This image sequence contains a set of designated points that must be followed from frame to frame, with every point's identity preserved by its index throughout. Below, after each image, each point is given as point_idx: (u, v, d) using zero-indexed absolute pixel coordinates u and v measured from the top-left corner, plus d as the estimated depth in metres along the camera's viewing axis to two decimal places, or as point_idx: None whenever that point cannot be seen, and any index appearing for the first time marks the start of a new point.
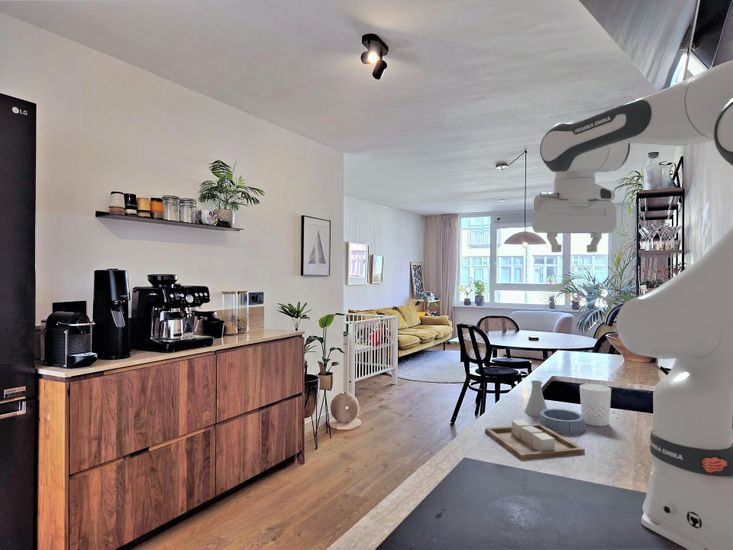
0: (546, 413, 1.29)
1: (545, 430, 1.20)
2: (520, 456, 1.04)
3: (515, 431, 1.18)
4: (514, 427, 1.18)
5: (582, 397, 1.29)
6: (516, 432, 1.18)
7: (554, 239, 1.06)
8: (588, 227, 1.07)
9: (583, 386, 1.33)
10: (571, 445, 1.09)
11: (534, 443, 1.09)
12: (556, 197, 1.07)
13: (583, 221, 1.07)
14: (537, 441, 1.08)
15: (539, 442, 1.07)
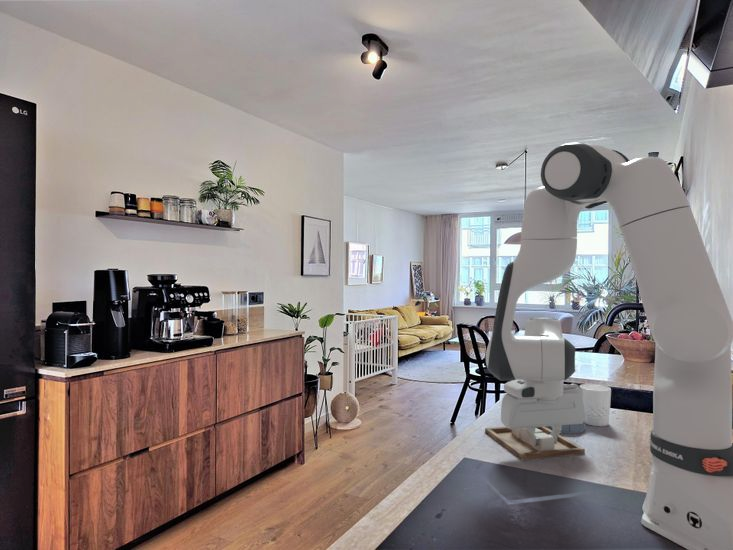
0: None
1: (545, 430, 1.20)
2: (520, 456, 1.04)
3: (515, 431, 1.18)
4: None
5: None
6: (516, 432, 1.18)
7: None
8: None
9: (583, 386, 1.33)
10: (571, 445, 1.09)
11: None
12: None
13: None
14: None
15: (539, 442, 1.07)
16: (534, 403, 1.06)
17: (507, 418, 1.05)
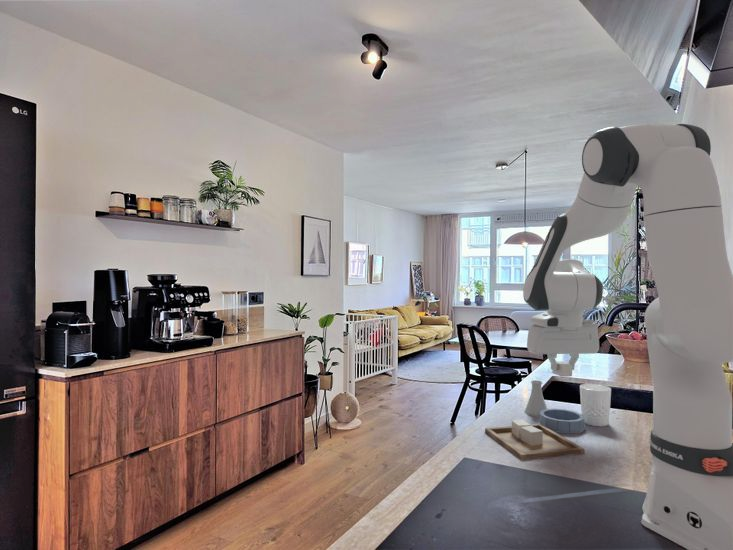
0: (546, 413, 1.29)
1: (545, 430, 1.20)
2: (520, 456, 1.04)
3: (515, 431, 1.18)
4: (514, 427, 1.18)
5: (582, 397, 1.29)
6: (516, 432, 1.18)
7: None
8: None
9: (583, 386, 1.33)
10: (571, 445, 1.09)
11: None
12: None
13: None
14: None
15: (559, 367, 1.24)
16: (557, 333, 1.22)
17: (533, 344, 1.21)
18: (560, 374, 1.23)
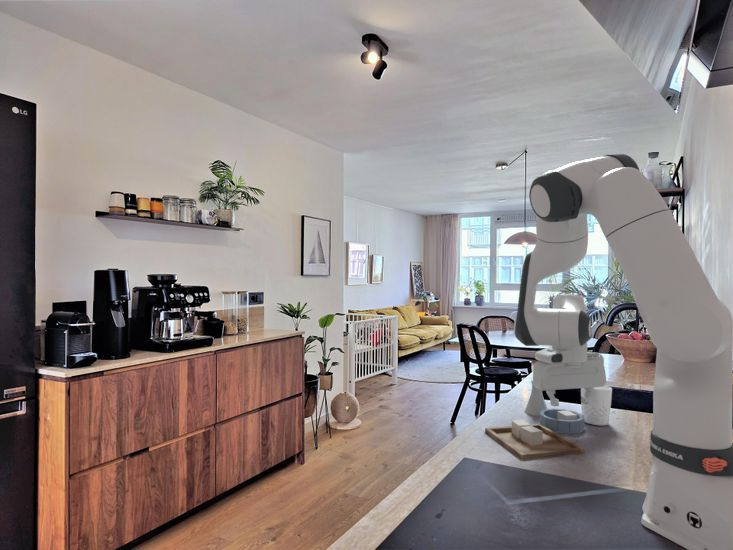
0: (546, 413, 1.29)
1: (545, 430, 1.20)
2: (520, 456, 1.04)
3: (515, 431, 1.18)
4: (514, 427, 1.18)
5: None
6: (516, 432, 1.18)
7: None
8: None
9: None
10: (571, 445, 1.09)
11: None
12: None
13: None
14: (562, 417, 1.25)
15: (563, 418, 1.24)
16: (562, 368, 1.23)
17: (539, 381, 1.22)
18: None
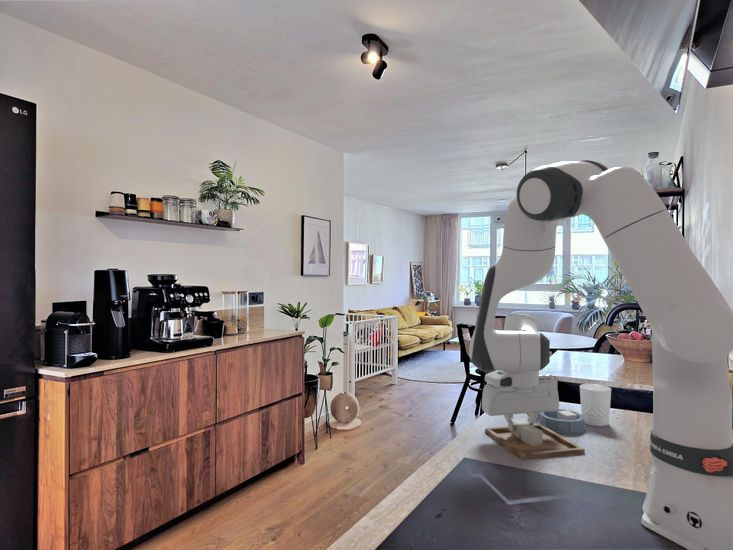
0: (546, 413, 1.29)
1: (545, 430, 1.20)
2: (520, 456, 1.04)
3: (515, 431, 1.18)
4: None
5: (582, 397, 1.29)
6: (516, 432, 1.18)
7: None
8: None
9: (583, 386, 1.33)
10: (571, 445, 1.09)
11: None
12: None
13: None
14: (562, 417, 1.25)
15: (563, 418, 1.24)
16: (512, 392, 1.16)
17: (487, 405, 1.15)
18: None
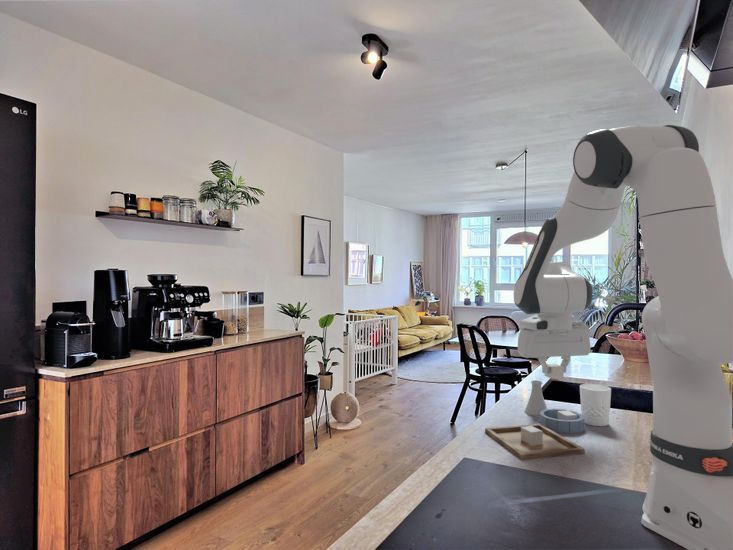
0: (546, 413, 1.29)
1: (545, 430, 1.20)
2: (520, 456, 1.04)
3: (548, 373, 1.24)
4: None
5: (582, 397, 1.29)
6: (549, 374, 1.24)
7: None
8: None
9: (583, 386, 1.33)
10: (571, 445, 1.09)
11: None
12: None
13: None
14: (562, 417, 1.25)
15: (563, 418, 1.24)
16: (547, 335, 1.22)
17: (524, 348, 1.21)
18: None
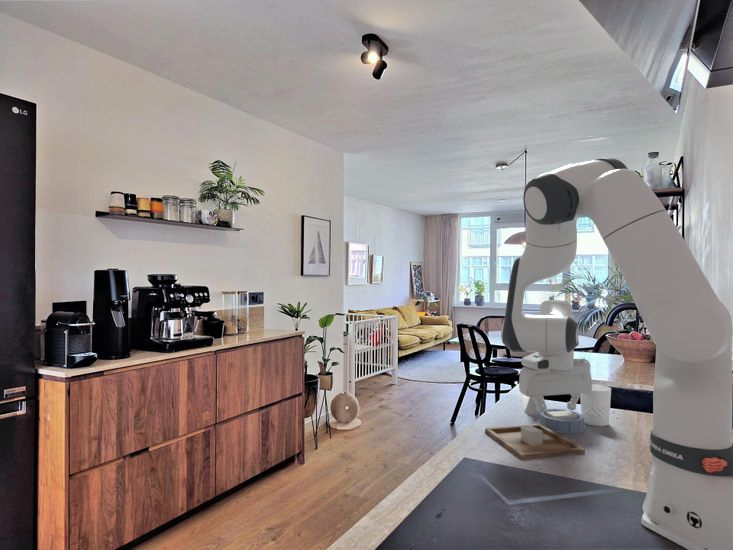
0: None
1: (545, 430, 1.20)
2: (520, 456, 1.04)
3: None
4: None
5: (582, 397, 1.29)
6: None
7: None
8: None
9: None
10: (571, 445, 1.09)
11: None
12: None
13: None
14: None
15: None
16: (548, 374, 1.22)
17: (525, 387, 1.21)
18: None
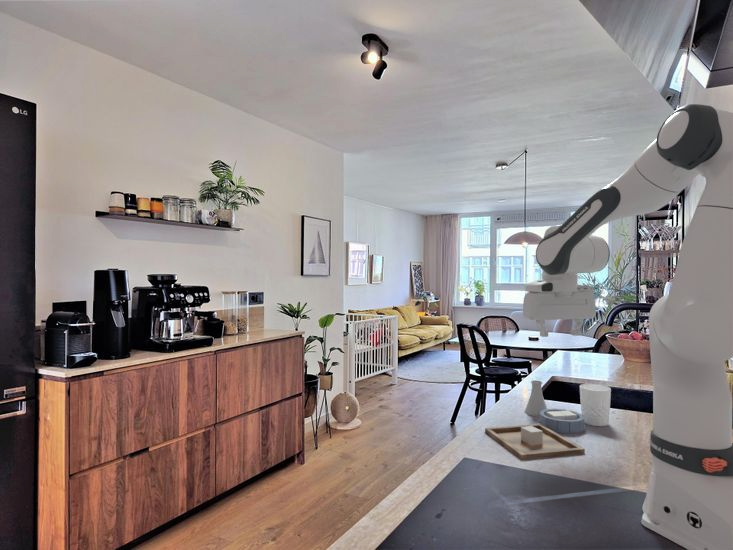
0: None
1: (545, 430, 1.20)
2: (520, 456, 1.04)
3: None
4: None
5: (582, 397, 1.29)
6: None
7: None
8: None
9: (583, 386, 1.33)
10: (571, 445, 1.09)
11: None
12: None
13: None
14: None
15: None
16: (552, 298, 1.22)
17: (529, 310, 1.22)
18: None
